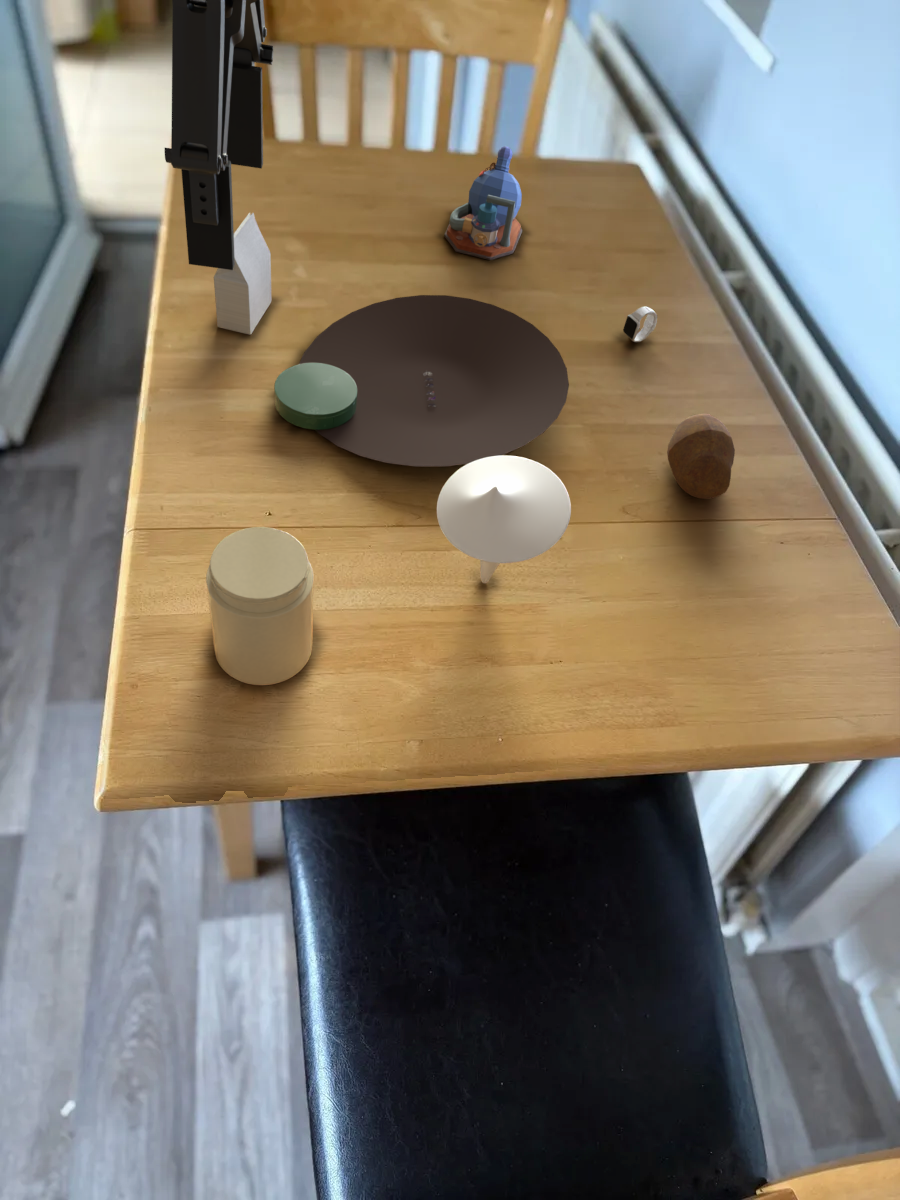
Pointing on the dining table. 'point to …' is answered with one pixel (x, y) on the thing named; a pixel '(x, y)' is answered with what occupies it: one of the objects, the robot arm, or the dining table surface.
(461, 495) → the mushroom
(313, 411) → the jar lid
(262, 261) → the tea bag
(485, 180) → the model
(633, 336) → the smartwatch
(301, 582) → the jam jar
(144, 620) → the dining table surface
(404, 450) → the plate
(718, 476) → the potato
